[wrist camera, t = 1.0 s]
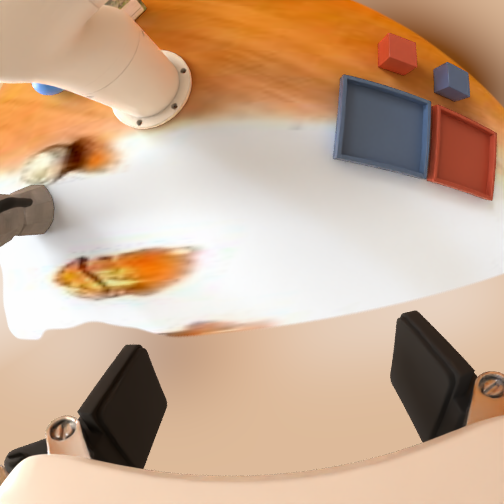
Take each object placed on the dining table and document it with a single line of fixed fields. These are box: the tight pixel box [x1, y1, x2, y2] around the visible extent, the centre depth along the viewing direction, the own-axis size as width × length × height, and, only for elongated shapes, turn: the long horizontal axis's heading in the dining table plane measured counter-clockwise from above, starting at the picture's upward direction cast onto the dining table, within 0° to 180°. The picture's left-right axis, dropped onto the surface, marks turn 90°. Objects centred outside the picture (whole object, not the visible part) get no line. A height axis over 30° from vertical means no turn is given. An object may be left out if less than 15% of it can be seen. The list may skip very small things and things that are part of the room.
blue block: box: [433, 62, 470, 102], centre depth 30 cm, size 4×4×4 cm
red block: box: [378, 33, 417, 75], centre depth 30 cm, size 4×4×4 cm
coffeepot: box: [0, 185, 54, 247], centre depth 31 cm, size 15×9×18 cm, turn 105°
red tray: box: [427, 105, 497, 201], centre depth 34 cm, size 14×12×2 cm
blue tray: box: [333, 75, 431, 179], centre depth 34 cm, size 14×12×2 cm
